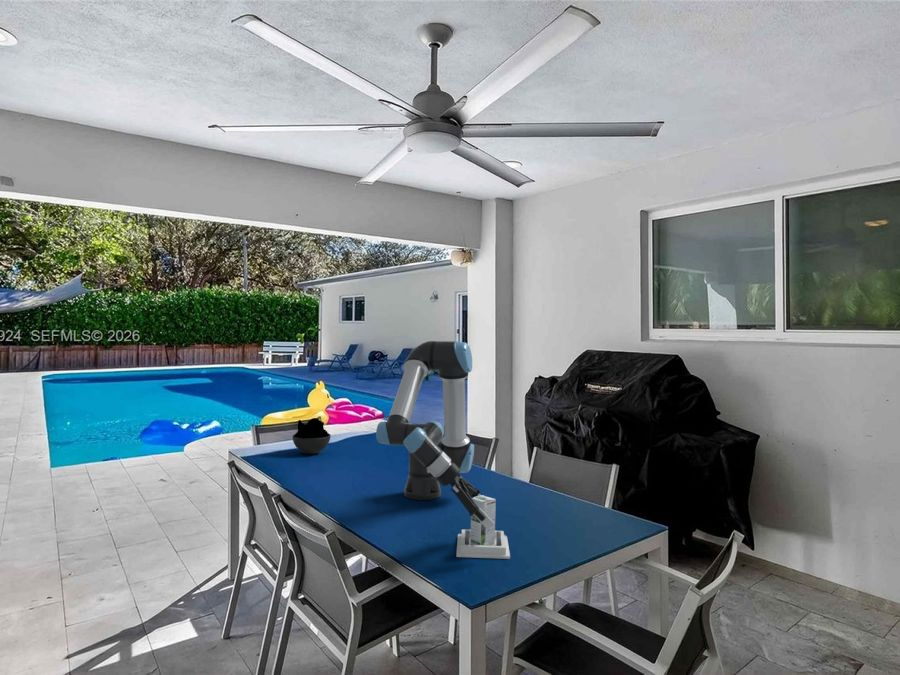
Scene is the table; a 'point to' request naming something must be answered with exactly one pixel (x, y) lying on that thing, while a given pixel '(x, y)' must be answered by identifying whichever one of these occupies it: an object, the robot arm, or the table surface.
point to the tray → (483, 547)
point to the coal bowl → (311, 436)
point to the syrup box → (477, 528)
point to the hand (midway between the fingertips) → (490, 518)
